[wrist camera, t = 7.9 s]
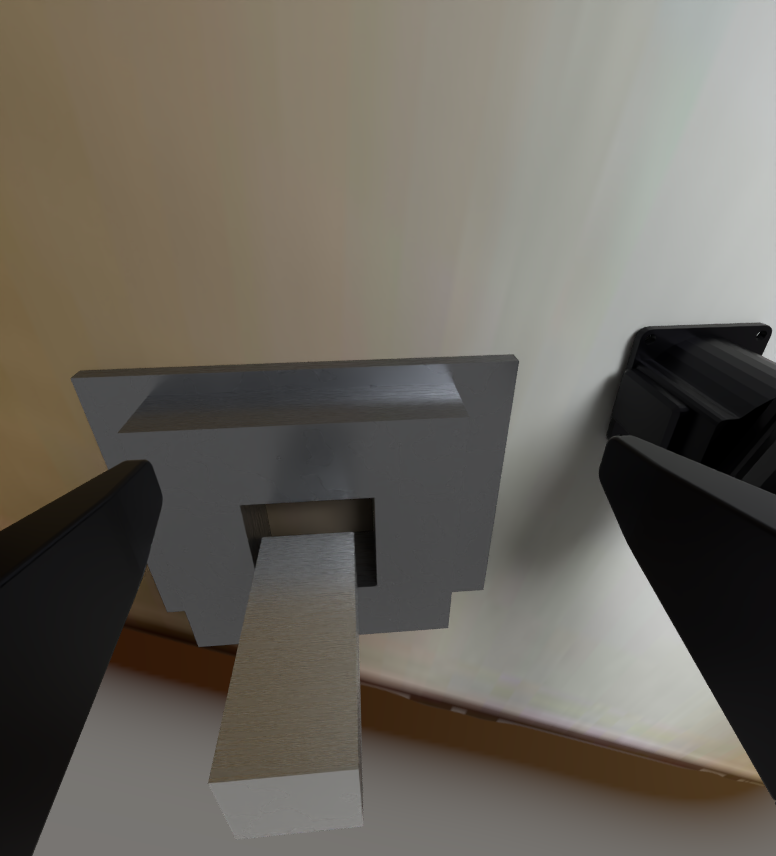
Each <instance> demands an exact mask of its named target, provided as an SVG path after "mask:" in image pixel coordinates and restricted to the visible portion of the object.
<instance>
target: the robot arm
mask: <svg viewBox="0 0 776 856" xmlns="http://www.w3.org/2000/svg"><path fill="white" fill-rule="evenodd" d="M759 332H760V333H759ZM758 333H759V334H758ZM757 334H758V335H757ZM771 334H772V328H771V327H770V326H768V325H766V324H763V323H733V324H704V325H674V326H648V327H644V328H642V329H641V330H640V331H639V332H638V333H637V335H636V337H635V340H634V344H633V347H632V350H631V354H630V357H629V361H628V364H627V368H626V371H625V372H624V374H623V377H622V380H621V384H620V387H619V391H618V394H617V398H616V401H615V404H614V408H613V411H612V419H611V422H610V425H609V429H608V432H607V439H608V442H607V444H606V448H605V451H604V454H603V458H602V461H601V464H600V468H599V479H600V482H601V484H602V487H603V489H604V491H605V494H606V496H607V498H608V501H609V503H610V505H611V508H612V510H613V512H614V514H615V517H616V519H617V521H618V524H619V526H620V528H621V531H622V533H623V535H624V537H625V539H626V541H627V543H628V545H629V547H630V549H631V551H632V553H633V555H634V556H635V558H636V560H637V562H638V564H639V565H640V567H641V569H642V571H643V572H644V574H645V576H646V578H647V579H648V581H649V583H650V585H651V586H652V588H653V590H654V592H655V593H656V595H657V597H658V599H659V600H660V602H661V604H662V606H663V607H664V609H665V611H666V613H667V614H668V616H669V618H670V620H671V621H672V623H673V625H674V627H675V628H676V630H677V632H678V634H679V635H680V637H681V639H682V641H683V642H684V644H685V646H686V648H687V649H688V651H689V653H690V655H691V656H692V658H693V660H694V662H695V663H696V665H697V667H698V669H699V670H700V672H701V674H702V676H703V678H704V679H705V681H706V683H707V685H708V686H709V688H710V690H711V692H712V693H713V695H714V697H715V699H716V700H717V702H718V704H719V706H720V707H721V709H722V711H723V713H724V714H725V716H726V718H727V720H728V721H729V723H730V725H731V727H732V728H733V730H734V732H735V734H736V735H737V737H738V739H739V741H740V742H741V744H742V746H743V748H744V749H745V751H746V753H747V755H748V756H749V758H750V760H751V762H752V763H753V765H754V767H755V769H756V770H757V772H758V774H759V776H760V777H761V779H762V781H763V783H764V784H765V786H766V788H767V790H768V792H769V793H770V795H771V797H772V798H773V799H774V800H776V363H775V362H773V361H771V360H769V359H767V358H765V357H763V356H762V354H763V352H764V350H765V348H766V345H767V343H768V341H769V339H770V337H771ZM649 335H651V337H650V339H649V340H647V341H645V339H646V337H647V336H649ZM756 335H757V336H756ZM619 434H620V435H619ZM617 435H619V436H617ZM162 504H163V496H162V491H161V489H160V486H159V483H158V480H157V477H156V474H155V471H154V468H153V466H152V464H151V463H150V462H149V461H148V460H145V459H143V460H126V461H123V462H121V463H119V464H118V465H116V466H114V467H112V468H111V469H109V470H107V471H105V472H104V473H102V474H100V475H98V476H97V477H95V478H93V479H91V480H90V481H88V482H86V483H84V484H83V485H81V486H79V487H77V488H76V489H74V490H72V491H70V492H68V493H67V494H65V495H63V496H61V497H60V498H58V499H56V500H54V501H53V502H51V503H49V504H47V505H46V506H44V507H42V508H40V509H39V510H37V511H35V512H33V513H32V514H30V515H28V516H26V517H25V518H23V519H21V520H19V521H18V522H16V523H14V524H12V525H10V526H9V527H7V528H5V529H3V530H2V531H0V856H32V855H33V853H34V850H35V847H36V845H37V843H38V840H39V837H40V835H41V832H42V830H43V827H44V825H45V822H46V820H47V817H48V815H49V812H50V809H51V807H52V805H53V802H54V800H55V797H56V795H57V792H58V790H59V787H60V785H61V782H62V780H63V777H64V775H65V772H66V770H67V767H68V765H69V762H70V759H71V757H72V754H73V752H74V749H75V747H76V744H77V742H78V739H79V737H80V734H81V732H82V729H83V727H84V724H85V722H86V719H87V717H88V714H89V712H90V709H91V707H92V704H93V701H94V699H95V697H96V694H97V692H98V689H99V687H100V684H101V682H102V679H103V676H104V674H105V671H106V669H107V666H108V664H109V661H110V659H111V656H112V654H113V651H114V649H115V646H116V644H117V641H118V639H119V636H120V634H121V631H122V629H123V626H124V624H125V621H126V619H127V616H128V614H129V611H130V609H131V606H132V604H133V601H134V598H135V596H136V593H137V591H138V588H139V586H140V583H141V580H142V578H143V575H144V571H145V568H146V565H147V561H148V557H149V554H150V550H151V546H152V542H153V539H154V535H155V531H156V527H157V524H158V520H159V516H160V512H161V508H162ZM775 804H776V802H775Z"/></svg>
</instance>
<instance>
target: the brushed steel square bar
mask: <svg viewBox="0 0 776 856" xmlns="http://www.w3.org/2000/svg"><path fill="white" fill-rule="evenodd" d="M360 706H361V705H360V665H359V626H358V589H357V574H356V558H355V542H354V532H343V533H327V534H310V535H294V536H278V537H262V540H261V545H260V549H259V554H258V558H257V563H256V568H255V572H254V577H253V581H252V586H251V590H250V595H249V599H248V604H247V609H246V613H245V618H244V622H243V627H242V631H241V636H240V640H239V645H238V649H237V654H236V659H235V663H234V668H233V672H232V677H231V682H230V686H229V690H228V695H227V700H226V704H225V709H224V713H223V718H222V722H221V727H220V732H219V736H218V741H217V745H216V750H215V755H214V759H213V763H212V768H211V772H210V777H209V781H208V785H209V786H210V788H211V790H212V793H213V795H214V797H215V799H216V801H217V803H218V805H219V807H220V809H221V811H222V813H223V815H224V817H225V819H226V821H227V823H228V825H229V827H230V829H231V831H232V833H233V835H234V837H235V839H245V838H256V837H265V836H275V835H285V834H295V833H303V832H314V831H324V830H333V829H343V828H353V827H362V826H364V824H363V784H362V747H361V746H362V744H361V707H360Z"/></svg>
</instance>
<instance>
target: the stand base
mask: <svg viewBox="0 0 776 856" xmlns="http://www.w3.org/2000/svg"><path fill="white" fill-rule="evenodd" d="M518 364H519V360H518V359H517V358H516V357H515V356H514V355H487V356H461V357H434V358H407V359H380V360H353V361H326V362H300V363H273V364H246V365H219V366H192V367H166V368H139V369H112V370H85V371H79V372H78V373H76V374H75V375H74V376H73V377H71V381H72V383H73V385H74V388H75V390H76V393H77V395H78V397H79V400H80V402H81V405H82V407H83V410H84V412H85V414H86V417H87V419H88V422H89V424H90V426H91V429H92V431H93V434H94V436H95V438H96V441H97V443H98V446H99V448H100V451H101V453H102V455H103V458H104V460H105V463H106V465H107V467H108V470H109V469H111V468H112V467H114V466H116V465H118V464H119V463H121V462H123V461H126V460H143V459H145V460H148V461H149V462H150V463H151V464H152V466H153V468H154V471H155V474H156V477H157V480H158V483H159V486H160V489H161V491H162V496H163V504H162V508H161V512H160V516H159V520H158V524H157V527H156V531H155V535H154V539H153V542H152V546H151V550H150V554H149V557H148V561H147V564H148V567H149V569H150V571H151V574H152V576H153V579H154V581H155V583H156V586H157V588H158V591H159V593H160V596H161V598H162V600H163V603H164V605H165V608H166V610H167V612H176V611H185V612H186V615H187V618H188V620H189V623H190V626H191V628H192V631H193V633H194V636H195V639H196V641H197V644H198V647H203V646H217V645H230V644H239V640H240V636H241V631H242V627H243V622H244V618H245V613H246V609H247V604H248V599H249V595H250V590H251V586H252V581H253V577H254V572H255V568H256V563H257V558H258V554H259V549H260V545H261V540H262V537H271V532H270V527H269V522H268V516H267V511H266V506H265V504H271V503H288V502H306V501H323V500H341V499H359V498H372V507H373V531H371V532H354V542H355V558H356V574H357V589H358V626H359V635H361V634H374V633H387V632H401V631H414V630H427V629H440V628H448V623H449V614H450V604H451V594H452V592H458V591H472V590H483V588H484V581H485V575H486V568H487V562H488V556H489V549H490V543H491V536H492V530H493V524H494V517H495V511H496V505H497V498H498V492H499V485H500V479H501V473H502V466H503V460H504V454H505V447H506V441H507V434H508V428H509V422H510V415H511V409H512V403H513V396H514V390H515V383H516V377H517V371H518Z"/></svg>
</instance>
